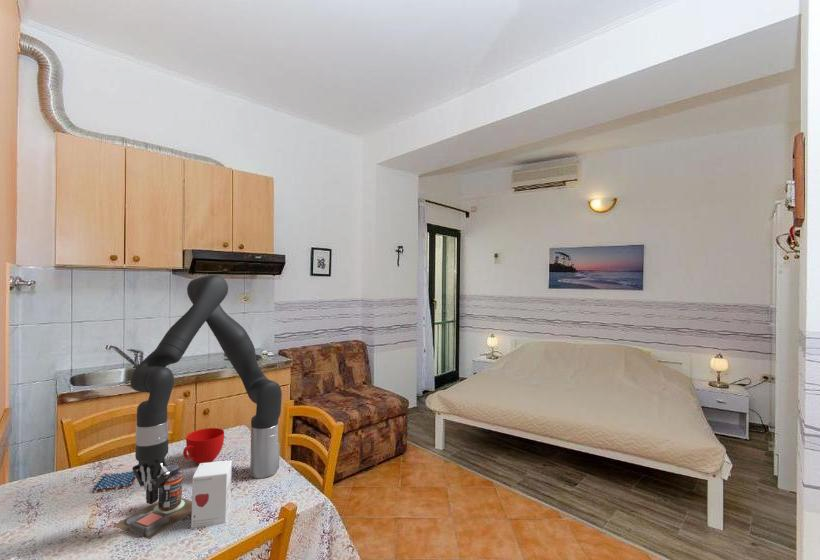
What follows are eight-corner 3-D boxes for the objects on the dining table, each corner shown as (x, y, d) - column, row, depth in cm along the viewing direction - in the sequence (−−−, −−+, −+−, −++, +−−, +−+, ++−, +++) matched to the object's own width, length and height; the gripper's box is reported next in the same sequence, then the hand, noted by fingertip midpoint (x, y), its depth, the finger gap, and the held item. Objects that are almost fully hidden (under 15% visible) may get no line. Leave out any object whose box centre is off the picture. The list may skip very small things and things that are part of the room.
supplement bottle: (170, 512, 113) (171, 473, 113) (153, 510, 114) (153, 471, 114) (186, 501, 119) (186, 464, 119) (169, 499, 120) (169, 462, 120)
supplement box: (189, 532, 106) (191, 477, 107) (197, 513, 115) (198, 462, 115) (226, 526, 109) (227, 473, 109) (231, 508, 118) (232, 459, 118)
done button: (151, 520, 110) (152, 512, 110) (162, 523, 108) (163, 516, 108) (136, 529, 106) (136, 521, 106) (147, 533, 104) (147, 525, 104)
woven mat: (130, 489, 128) (131, 483, 128) (91, 495, 125) (91, 489, 125) (139, 475, 138) (139, 469, 138) (103, 480, 134) (103, 474, 134)
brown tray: (170, 497, 123) (170, 488, 123) (204, 508, 118) (204, 498, 118) (112, 529, 107) (112, 518, 107) (148, 542, 102) (149, 531, 102)
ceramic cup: (168, 471, 140) (169, 443, 140) (203, 451, 157) (203, 426, 157) (199, 475, 137) (199, 447, 138) (231, 455, 154) (231, 429, 154)
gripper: (182, 437, 108) (181, 499, 108) (148, 430, 113) (148, 490, 113) (156, 448, 101) (155, 515, 101) (121, 440, 106) (121, 504, 106)
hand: (152, 502), depth 107 cm, fingers closed
